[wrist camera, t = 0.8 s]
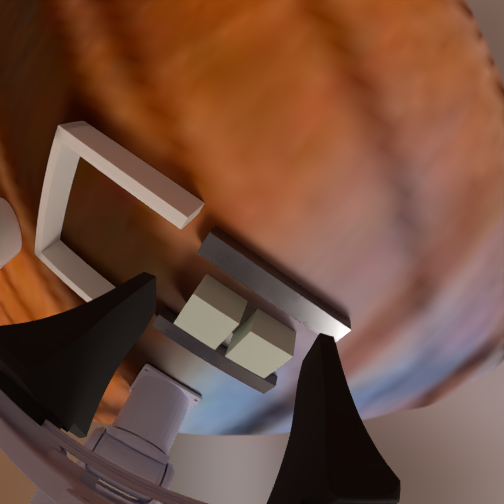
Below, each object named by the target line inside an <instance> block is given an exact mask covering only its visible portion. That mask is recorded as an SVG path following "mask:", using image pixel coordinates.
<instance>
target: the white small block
mask: <svg viewBox="0 0 504 504" xmlns="http://www.w3.org/2000/svg"><path fill="white" fill-rule="evenodd" d="M295 339H296V332H295V331H293V330H291V329H290V328H288V327H287V326H285V325H283V324H282V323H280V322H279V321H277V320H275V319H274V318H272V317H271V316H269V315H268V314H266V313H265V312H263V311H261V310H260V309H257V310H256V311H255V312H254V313H253V314H252V315H251V316H250V317H249V318H248V319H247V320H246V321H245V322H244V323H243V324H242V326H241V327H240V328H239V329H238V330H237V331H236V332H235V333H234V334H233V336H232V339H231V342H230V344H229V347H228V349H227V352H226V355H225V357H227V358H228V359H230V360H232V361H234V362H235V363H237V364H239V365H240V366H242V367H244V368H246V369H248V370H249V371H251V372H253V373H255V374H257V375H258V376H260V377H262V378H265V377H267V376H268V375H270V374H271V373H272V372H274V371H275V370H276V369H278V368H279V367H280V366H282V365H283V364H284V363H286V362H287V361H288V360H289V359H291V358H292V357H293V354H294V346H295Z"/></svg>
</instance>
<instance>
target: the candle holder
mask: <svg viewBox="0 0 504 504" xmlns="http://www.w3.org/2000/svg"><path fill="white" fill-rule="evenodd" d="M21 247H22V235H21V230H20V226H19V222H18V220H17V217H16V215H15V212H14V210H13V209H12V207H11V205H10V204H9V203H8V202H7V201H6V200H5V199H4V198H1V197H0V269H1V268H2V267H3V266H4V265H6V264H7V263H8V262H9V261H10V260H12V259H13V258H14V257H15V256H16V255H18V254H19V252H20V251H21Z"/></svg>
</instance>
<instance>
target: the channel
mask: <svg viewBox="0 0 504 504" xmlns="http://www.w3.org/2000/svg"><path fill="white" fill-rule="evenodd" d="M197 253H198V254H200V255H201V256H202V257H204V258H205V259H207V260H208V261H210V262H211V263H212V264H214V265H215V266H217V267H218V268H220V269H221V270H223V271H224V272H226V273H227V274H228V275H230V276H231V277H233V278H234V279H236V280H237V281H239V282H240V283H242V284H243V285H245V286H246V287H248V288H249V289H250V290H252V291H253V292H255V293H256V294H258V295H259V296H261V297H262V298H264V299H265V300H267V301H268V302H270V303H271V304H273V305H274V306H276V307H277V308H279V309H280V310H282V311H283V312H285V313H287V314H288V315H290V316H291V317H293V318H294V319H296V320H297V321H299V322H300V323H302V324H303V325H305V326H306V327H308V328H310V329H311V330H313V331H314V332H316V333H317V334H319V333H323V334H326V335H330V336H333V337H334V339H335V342H337V341H338V340H339V339H341V338H342V337H343V336H344V335H346V334H347V333H348V332H349V331H351V323H350V320H349V319H348V318H346V317H345V316H343V315H342V314H340V313H339V312H338V311H336V310H335V309H333V308H332V307H330V306H329V305H328V304H326V303H325V302H323V301H322V300H320V299H319V298H318V297H316V296H315V295H313V294H312V293H311V292H309V291H308V290H306V289H305V288H303V287H302V286H301V285H299V284H298V283H296V282H295V281H293V280H292V279H291V278H289V277H288V276H286V275H285V274H283V273H282V272H281V271H279V270H278V269H276V268H275V267H273V266H272V265H271V264H269V263H268V262H266V261H265V260H263V259H262V258H261V257H259V256H258V255H256V254H255V253H253V252H252V251H251V250H249V249H248V248H246V247H245V246H243V245H242V244H241V243H239V242H238V241H236V240H235V239H233V238H232V237H231V236H229V235H228V234H226V233H225V232H223V231H222V230H221V229H219V228H218V227H216V226H214V228H213V229H212V230H211V231H210V232H209V234H208V235H207V237H206V239H205V240H204V242H203V243H202V245H201V246H200V248H199V249H198V251H197ZM177 317H178V316H177V315H176V314H174V313H173V312H171V311H170V310H169V309H167V308H166V307H164V308H163V309H162V311H161V312H160V313H159V315H158V317H157V318H156V320H155V322H154V323H153V325H152V326H153V327H154V328H156V329H157V330H159V331H160V332H162V333H163V334H164V335H166V336H167V337H169V338H170V339H172V340H173V341H175V342H176V343H178V344H179V345H181V346H183V347H184V348H186V349H187V350H189V351H190V352H192V353H194V354H195V355H197V356H198V357H200V358H202V359H203V360H205V361H206V362H208V363H210V364H211V365H213V366H215V367H216V368H218V369H220V370H222V371H223V372H225V373H227V374H229V375H230V376H232V377H234V378H236V379H237V380H239V381H241V382H243V383H245V384H246V385H248V386H250V387H252V388H254V389H256V390H258V391H260V392H262V393H263V394H264V393H266V392H267V391H269V390H270V389H272V388H273V387H275V386H276V381H277V376H275V375H273V374H270V375H268V376H267V377H265V378H262V377H260V376H258V375H257V374H255V373H253V372H251V371H249V370H248V369H246V368H244V367H242V366H240V365H239V364H237V363H235V362H234V361H232V360H230V359H228V358H227V357H225V355H226V352H227V349H228V348H227V347H225V346H223V345H222V344H220V345H219V346H218V347H217V348H216V349H215V350H214V349H212V348H211V347H209V346H207V345H206V344H204V343H203V342H201V341H199V340H198V339H196V338H195V337H193V336H192V335H190V334H189V333H187V332H186V331H184V330H182V329H181V328H179V327H178V326H176V325H175V324H174V322H175V320H176V319H177Z"/></svg>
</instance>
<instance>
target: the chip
mask: <svg viewBox="0 0 504 504" xmlns="http://www.w3.org/2000/svg"><path fill="white" fill-rule="evenodd" d="M247 302H248V301H247V300H245V299H244V298H242V297H241V296H239V295H238V294H236V293H235V292H233V291H232V290H230V289H229V288H227V287H226V286H224V285H223V284H221V283H220V282H218V281H217V280H215V279H214V278H212V277H211V276H209V275H208V274H206V275H205V277H204V278H203V280H202V281H201V283H200V284H199V285H198V287H197V288H196V290H195V291H194V293H193V294H192V296H191V297H190V299H189V300H188V302H187V303H186V305H185V306H184V308H183V309H182V311H181V313H180V314H179V316H178V317H177V319H176V320H175V322H174V324H175V325H176V326H178V327H179V328H181V329H182V330H184V331H186V332H187V333H189V334H190V335H192V336H193V337H195V338H196V339H198V340H199V341H201V342H203V343H204V344H206V345H207V346H209V347H211V348H212V349H214V350H215V349H216V348H217V347H218V346H219V345H220V344H221V343H222V342H223V341H224V340H225V339H226V338H227V337H228V335H229V334H230V333H231V332H232V331H233V330H234V329H235V328H236V327H237V326H238V325H239V324H240V321H241V318H242V316H243V313H244V310H245V308H246V305H247Z"/></svg>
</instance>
